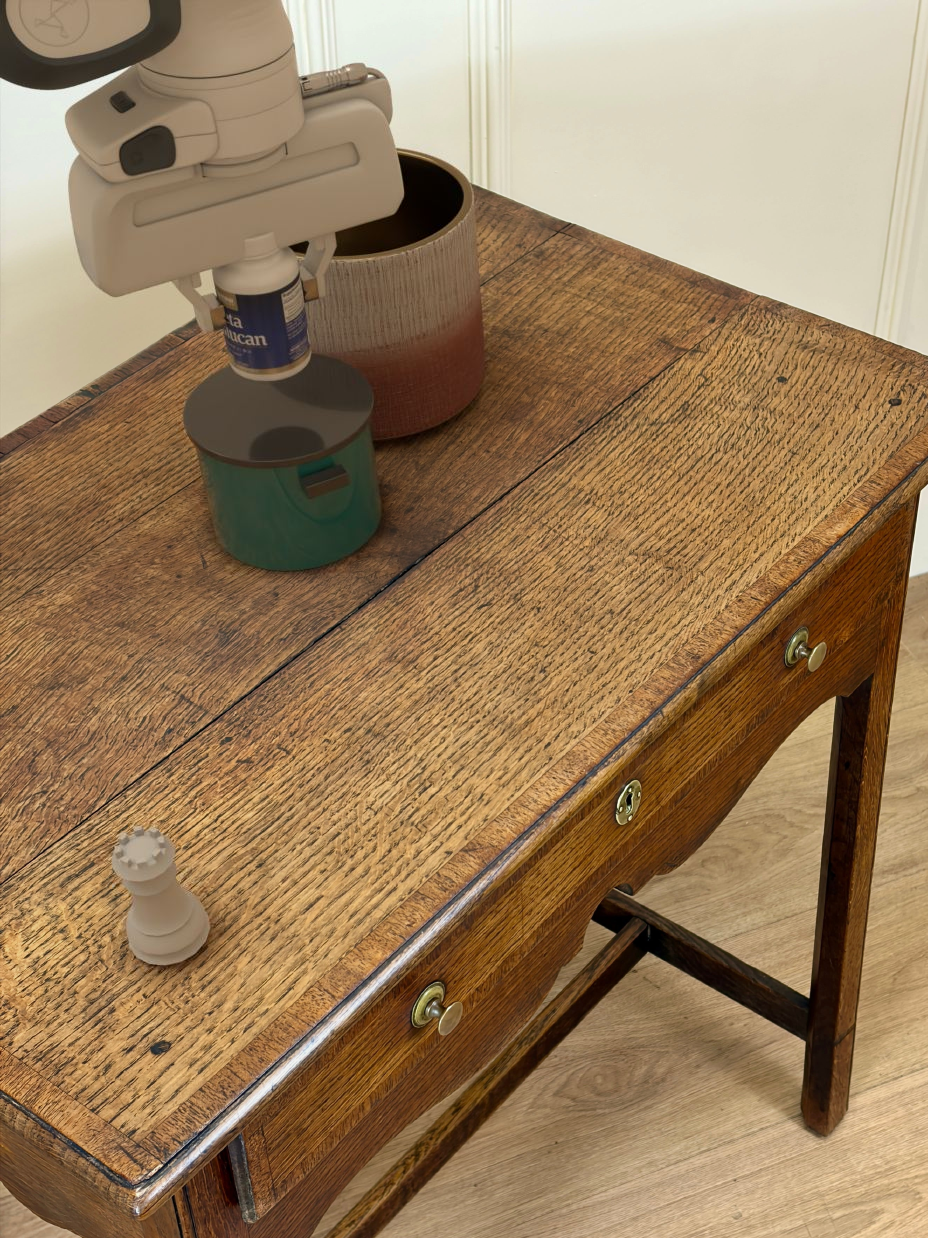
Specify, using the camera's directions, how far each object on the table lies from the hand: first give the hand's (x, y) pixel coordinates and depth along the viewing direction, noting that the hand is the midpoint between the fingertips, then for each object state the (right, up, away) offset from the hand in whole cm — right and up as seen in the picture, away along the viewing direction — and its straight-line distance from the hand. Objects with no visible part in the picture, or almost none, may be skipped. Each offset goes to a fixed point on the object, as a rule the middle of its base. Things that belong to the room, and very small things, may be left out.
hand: (261, 311), depth 95 cm
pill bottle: (0, -3, +3) cm, 4 cm away
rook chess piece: (-3, -38, -13) cm, 40 cm away
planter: (+5, 0, +23) cm, 24 cm away
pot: (0, -12, +12) cm, 17 cm away
